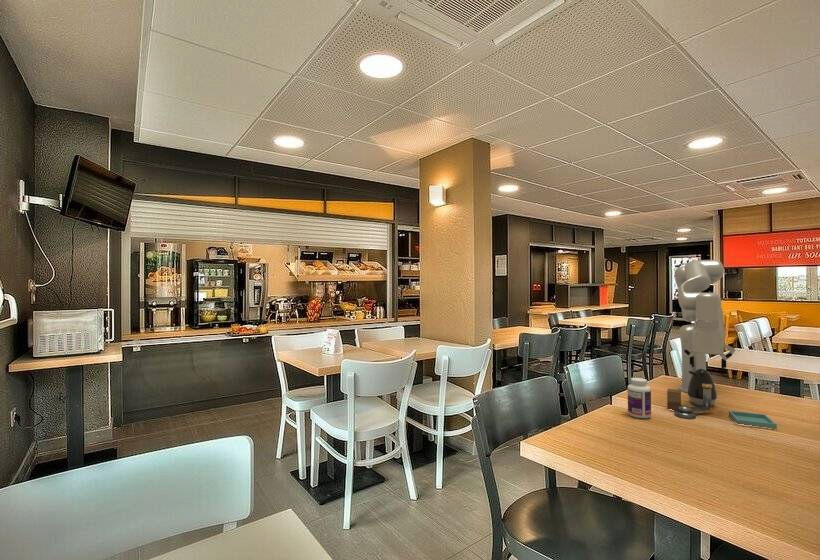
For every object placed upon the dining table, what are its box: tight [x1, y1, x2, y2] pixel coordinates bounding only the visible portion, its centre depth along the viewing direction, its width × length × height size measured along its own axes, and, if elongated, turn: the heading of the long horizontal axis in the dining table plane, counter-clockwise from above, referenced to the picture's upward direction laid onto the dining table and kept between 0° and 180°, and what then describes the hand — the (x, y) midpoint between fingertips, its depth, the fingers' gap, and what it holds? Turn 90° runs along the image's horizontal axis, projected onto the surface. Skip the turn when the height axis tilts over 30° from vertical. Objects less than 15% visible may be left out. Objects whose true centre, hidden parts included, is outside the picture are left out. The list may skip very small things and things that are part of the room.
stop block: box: [666, 388, 682, 410], centre depth 167 cm, size 4×4×8 cm
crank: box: [679, 383, 712, 413], centre depth 161 cm, size 15×4×10 cm, turn 104°
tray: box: [728, 410, 778, 429], centre depth 152 cm, size 11×11×2 cm
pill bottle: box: [627, 377, 652, 419], centre depth 160 cm, size 8×8×14 cm
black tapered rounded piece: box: [686, 369, 718, 406], centre depth 174 cm, size 10×10×15 cm
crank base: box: [673, 409, 697, 420], centre depth 160 cm, size 7×7×2 cm
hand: (707, 368), depth 162 cm, fingers open, 9 cm apart
